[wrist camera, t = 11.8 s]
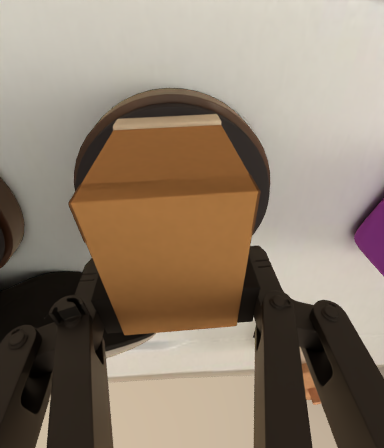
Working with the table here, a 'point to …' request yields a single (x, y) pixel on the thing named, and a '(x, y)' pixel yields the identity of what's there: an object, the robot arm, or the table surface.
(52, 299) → the cowboy boot
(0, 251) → the navy and black piece
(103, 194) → the tan sneaker
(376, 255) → the toy camera
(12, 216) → the turntable base
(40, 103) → the table surface
